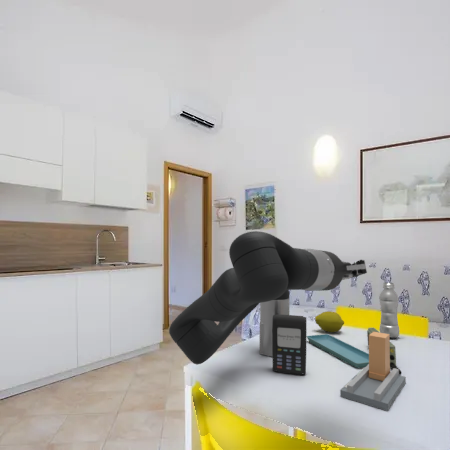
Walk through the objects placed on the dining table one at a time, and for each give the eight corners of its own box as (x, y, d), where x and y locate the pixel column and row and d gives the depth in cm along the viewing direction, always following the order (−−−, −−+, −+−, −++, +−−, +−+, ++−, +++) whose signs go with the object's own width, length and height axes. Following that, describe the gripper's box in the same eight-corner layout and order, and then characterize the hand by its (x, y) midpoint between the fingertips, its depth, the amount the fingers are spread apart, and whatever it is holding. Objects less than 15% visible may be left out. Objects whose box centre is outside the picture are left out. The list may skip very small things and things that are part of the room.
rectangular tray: (383, 367, 95) (383, 358, 95) (356, 371, 92) (356, 362, 92) (328, 340, 120) (328, 333, 120) (305, 342, 117) (305, 335, 117)
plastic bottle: (403, 340, 120) (402, 284, 121) (384, 339, 120) (383, 284, 121) (394, 335, 126) (393, 282, 127) (376, 334, 126) (375, 282, 127)
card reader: (270, 372, 89) (271, 316, 90) (272, 367, 93) (273, 313, 94) (306, 376, 87) (306, 318, 87) (306, 371, 90) (306, 315, 91)
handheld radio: (377, 347, 112) (406, 377, 87) (367, 347, 113) (393, 377, 88) (376, 327, 112) (405, 351, 88) (366, 327, 113) (391, 351, 88)
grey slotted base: (387, 411, 69) (387, 396, 70) (340, 396, 76) (340, 383, 76) (405, 383, 83) (405, 370, 84) (364, 372, 90) (364, 361, 90)
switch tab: (385, 381, 80) (384, 338, 81) (368, 377, 82) (368, 335, 83) (390, 375, 84) (389, 334, 84) (374, 371, 86) (374, 331, 87)
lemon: (344, 331, 131) (344, 310, 132) (344, 336, 124) (344, 314, 124) (316, 328, 135) (316, 308, 135) (314, 333, 128) (314, 312, 128)
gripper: (286, 294, 64) (328, 292, 77) (352, 286, 56) (388, 285, 68) (281, 256, 66) (323, 260, 79) (344, 242, 58) (380, 249, 70)
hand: (353, 272), depth 73 cm, fingers closed
